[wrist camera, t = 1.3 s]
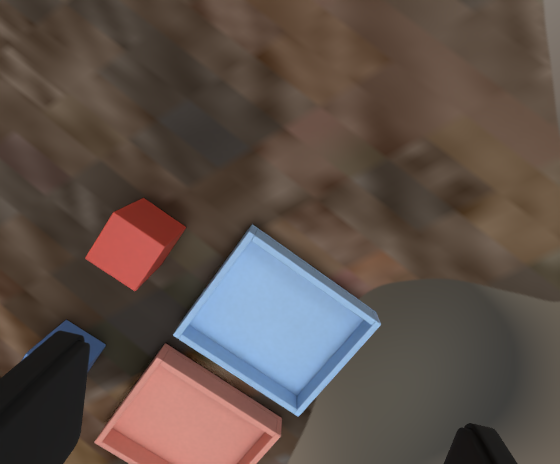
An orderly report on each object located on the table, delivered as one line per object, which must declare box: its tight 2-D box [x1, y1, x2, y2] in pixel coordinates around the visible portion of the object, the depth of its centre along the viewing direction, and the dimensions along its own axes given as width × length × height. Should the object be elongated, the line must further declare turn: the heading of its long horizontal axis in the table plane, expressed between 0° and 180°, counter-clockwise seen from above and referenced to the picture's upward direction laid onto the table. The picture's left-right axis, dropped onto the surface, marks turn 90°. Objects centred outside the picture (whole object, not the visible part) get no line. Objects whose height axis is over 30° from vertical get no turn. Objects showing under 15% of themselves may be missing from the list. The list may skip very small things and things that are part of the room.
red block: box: [85, 198, 186, 291], centre depth 33 cm, size 5×5×6 cm
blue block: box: [22, 320, 106, 373], centre depth 37 cm, size 5×5×6 cm
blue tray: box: [173, 224, 381, 416], centre depth 37 cm, size 14×12×2 cm
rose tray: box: [94, 343, 282, 464], centre depth 40 cm, size 14×12×2 cm
